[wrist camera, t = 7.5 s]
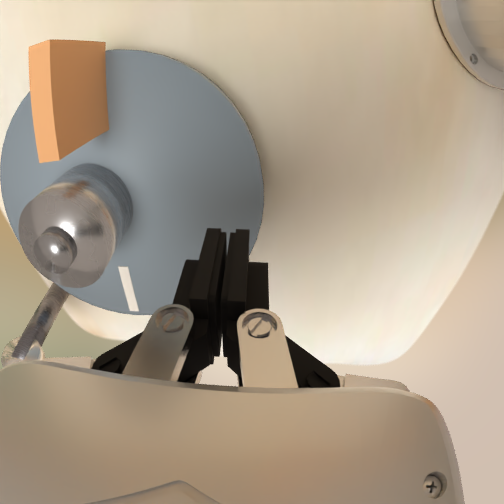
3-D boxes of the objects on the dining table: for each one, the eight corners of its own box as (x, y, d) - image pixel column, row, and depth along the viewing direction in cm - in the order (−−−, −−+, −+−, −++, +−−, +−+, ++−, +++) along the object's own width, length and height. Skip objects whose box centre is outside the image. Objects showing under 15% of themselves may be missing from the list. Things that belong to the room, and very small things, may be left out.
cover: (124, 157, 17) (81, 197, 12) (140, 241, 21) (113, 300, 16) (48, 169, 17) (-4, 210, 12) (69, 245, 21) (32, 297, 16)
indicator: (76, 278, 26) (26, 374, 17) (82, 293, 28) (37, 389, 18) (45, 276, 26) (-8, 364, 17) (51, 291, 27) (3, 379, 18)
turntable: (270, 34, 15) (287, 14, 9) (256, 306, 26) (259, 381, 20) (-5, 78, 14) (-76, 99, 8) (47, 295, 25) (15, 354, 19)
